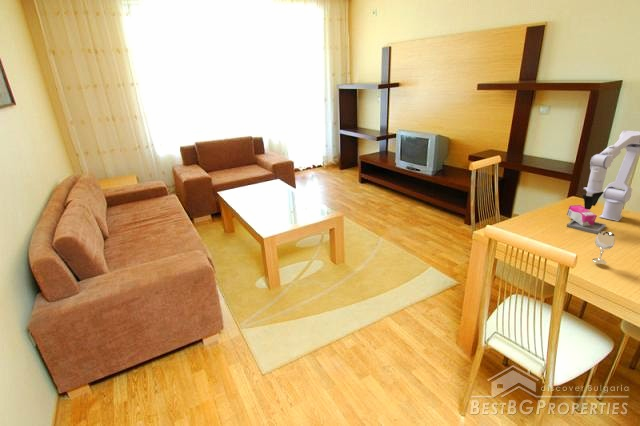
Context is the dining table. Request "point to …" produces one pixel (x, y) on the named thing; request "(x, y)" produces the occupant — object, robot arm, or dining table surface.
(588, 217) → the supplement box
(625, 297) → the dining table surface
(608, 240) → the wineglass
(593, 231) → the tray
